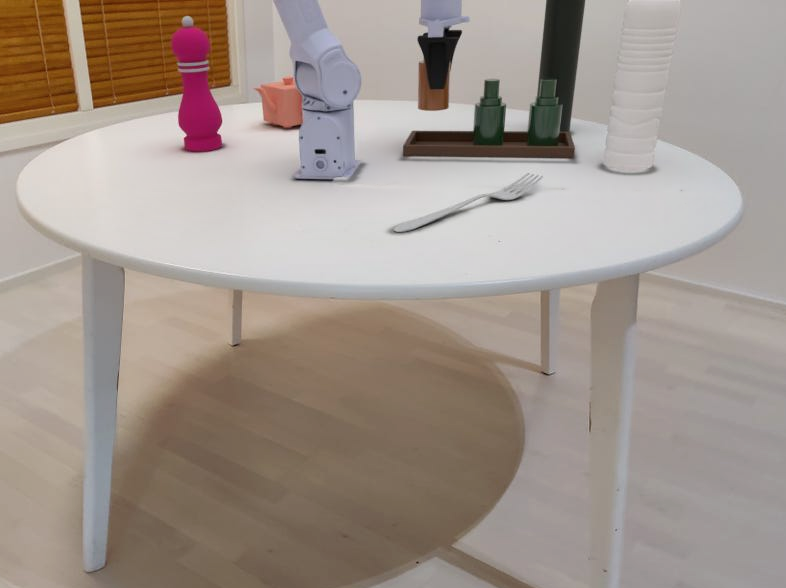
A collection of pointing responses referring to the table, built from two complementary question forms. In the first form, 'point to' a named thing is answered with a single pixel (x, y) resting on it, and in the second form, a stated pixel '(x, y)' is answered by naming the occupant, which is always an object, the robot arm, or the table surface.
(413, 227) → the fork
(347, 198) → the table surface
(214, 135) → the pepper mill
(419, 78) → the amber bottle
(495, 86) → the green bottle
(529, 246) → the table surface
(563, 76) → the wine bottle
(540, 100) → the green bottle
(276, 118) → the teapot
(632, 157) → the water bottle
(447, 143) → the tray
